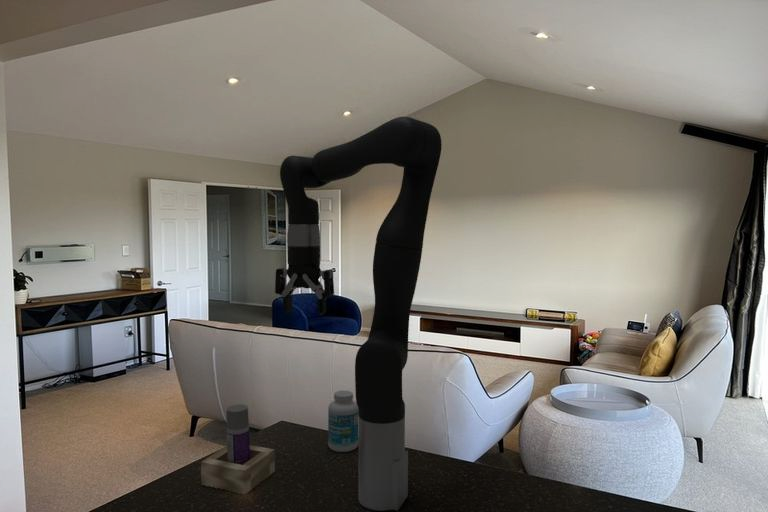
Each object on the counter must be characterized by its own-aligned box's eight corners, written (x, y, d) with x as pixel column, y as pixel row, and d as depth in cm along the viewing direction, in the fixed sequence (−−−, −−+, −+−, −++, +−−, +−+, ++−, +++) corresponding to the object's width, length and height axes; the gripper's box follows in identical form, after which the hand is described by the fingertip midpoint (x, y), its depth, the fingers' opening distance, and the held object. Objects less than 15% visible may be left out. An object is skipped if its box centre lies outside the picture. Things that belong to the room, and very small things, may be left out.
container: (253, 470, 120) (251, 404, 119) (246, 481, 115) (244, 412, 114) (232, 470, 120) (230, 404, 119) (224, 480, 116) (222, 411, 115)
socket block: (274, 471, 121) (274, 449, 121) (245, 494, 111) (244, 470, 111) (233, 463, 125) (233, 441, 125) (201, 484, 115) (200, 461, 115)
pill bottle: (323, 451, 132) (323, 396, 131) (334, 439, 139) (334, 387, 138) (352, 455, 130) (352, 399, 129) (362, 442, 137) (362, 390, 136)
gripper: (338, 244, 127) (339, 313, 128) (285, 242, 132) (286, 309, 133) (323, 245, 120) (324, 318, 121) (268, 244, 125) (269, 314, 126)
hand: (304, 313), depth 127 cm, fingers open, 8 cm apart
